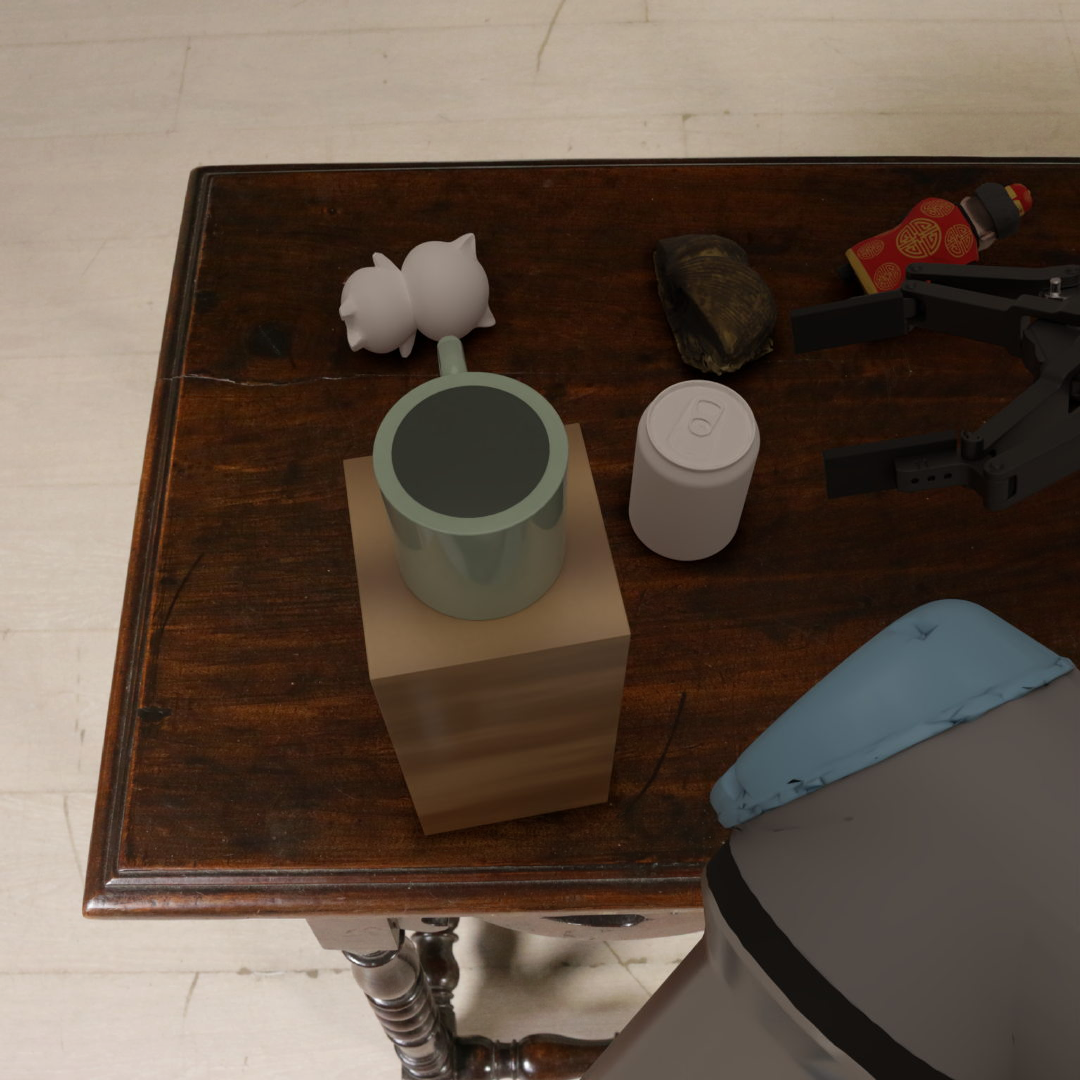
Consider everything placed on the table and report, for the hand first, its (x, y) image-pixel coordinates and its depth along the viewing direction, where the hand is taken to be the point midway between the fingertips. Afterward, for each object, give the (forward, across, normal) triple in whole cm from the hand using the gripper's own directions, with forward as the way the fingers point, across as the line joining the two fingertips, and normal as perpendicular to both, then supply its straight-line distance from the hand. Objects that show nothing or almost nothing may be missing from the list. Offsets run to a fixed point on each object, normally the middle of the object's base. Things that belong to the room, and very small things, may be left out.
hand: (806, 398), depth 65 cm
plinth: (+22, +5, +19) cm, 30 cm away
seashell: (+5, -29, +12) cm, 32 cm away
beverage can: (+9, -11, +17) cm, 22 cm away
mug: (+17, +12, -5) cm, 21 cm away
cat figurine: (+28, -28, +7) cm, 40 cm away
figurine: (-12, -32, +15) cm, 37 cm away
